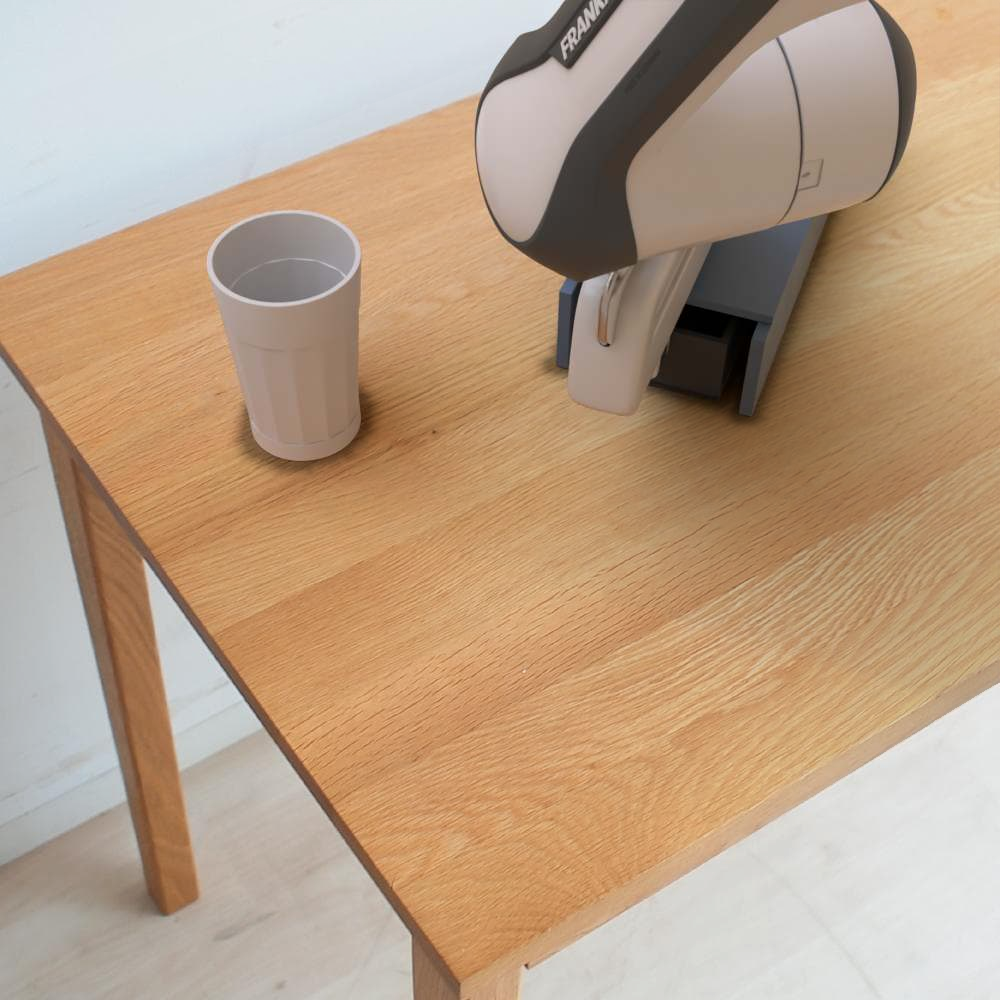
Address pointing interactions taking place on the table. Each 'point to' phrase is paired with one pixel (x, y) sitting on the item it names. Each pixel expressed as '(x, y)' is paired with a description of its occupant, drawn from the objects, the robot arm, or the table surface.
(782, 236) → the cubby shelf
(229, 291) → the cup
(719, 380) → the basket
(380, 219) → the table surface
